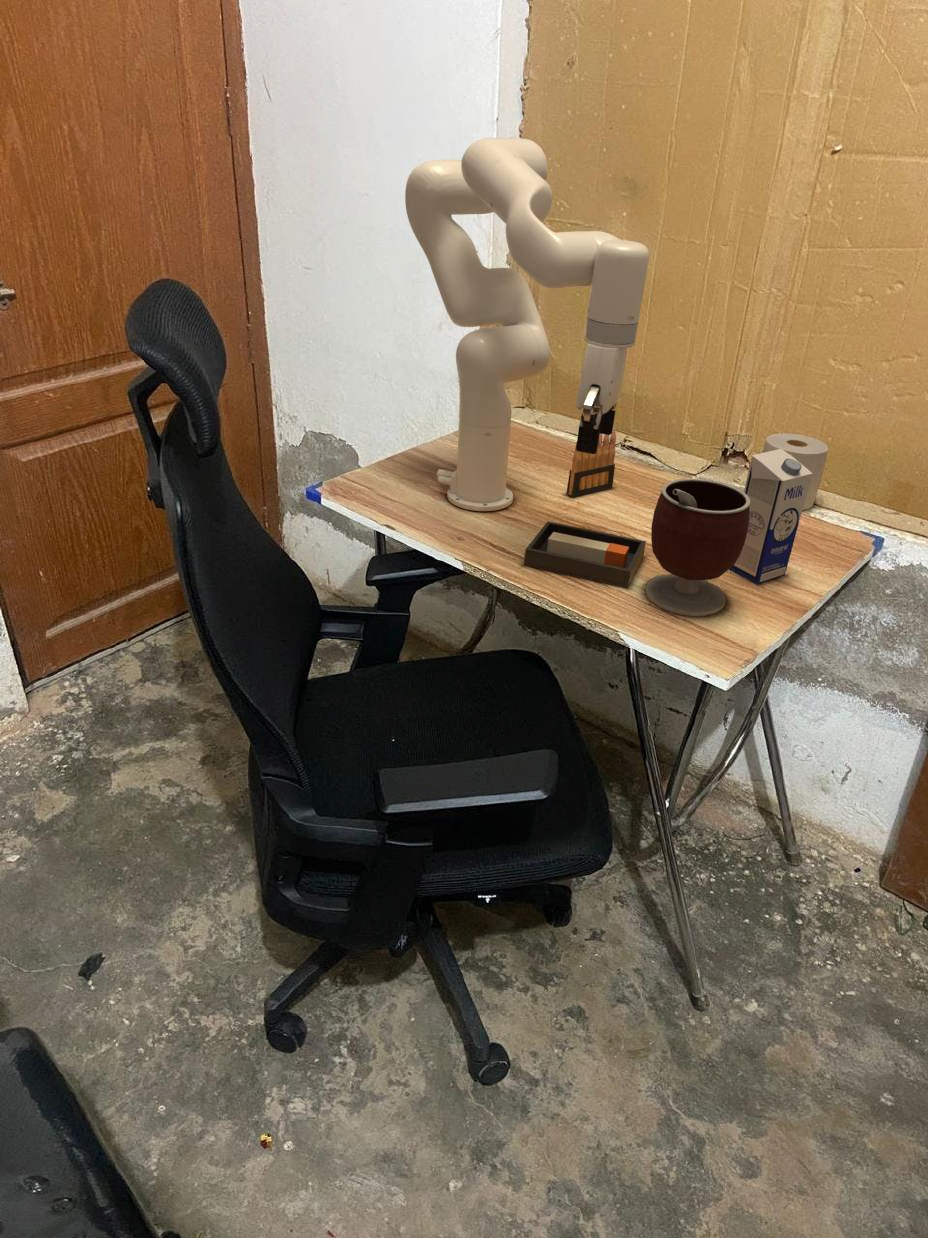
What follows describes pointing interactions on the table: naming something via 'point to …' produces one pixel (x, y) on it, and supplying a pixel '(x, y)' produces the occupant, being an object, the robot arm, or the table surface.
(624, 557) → the rectangular block
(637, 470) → the table surface
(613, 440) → the ammunition clip
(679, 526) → the mate gourd
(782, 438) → the toilet paper roll
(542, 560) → the tray
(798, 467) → the milk carton
